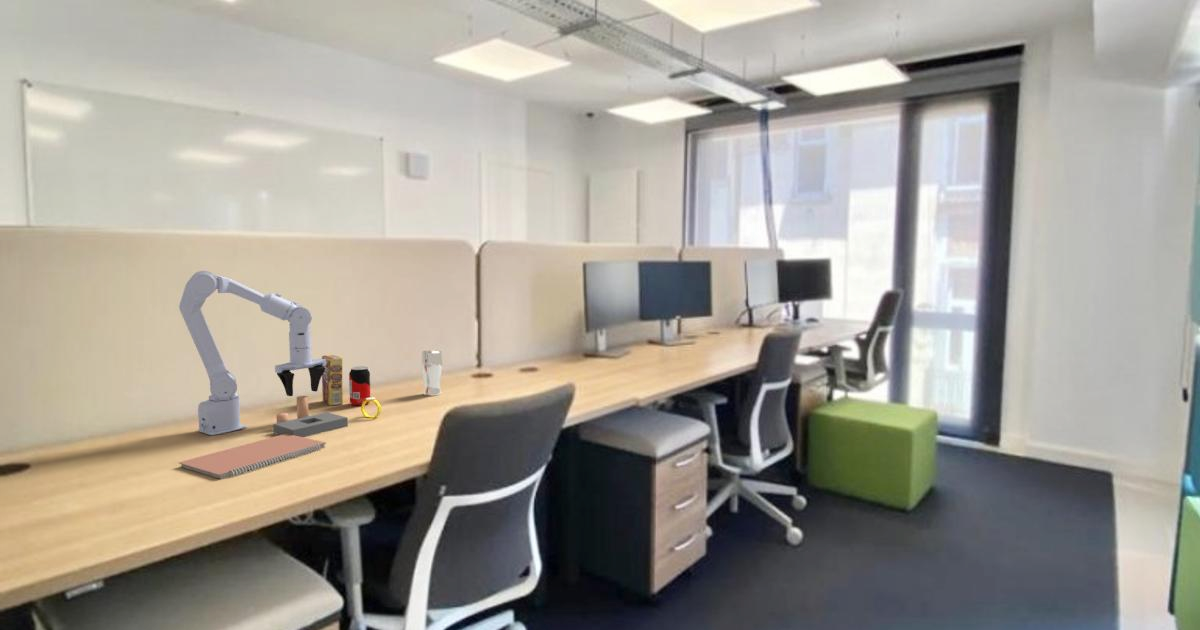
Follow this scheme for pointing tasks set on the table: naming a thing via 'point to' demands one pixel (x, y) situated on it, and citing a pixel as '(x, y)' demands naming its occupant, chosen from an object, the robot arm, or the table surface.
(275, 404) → the table surface
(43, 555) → the table surface
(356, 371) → the beverage can
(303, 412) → the long pin
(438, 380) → the beer glass
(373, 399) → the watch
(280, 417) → the short pin
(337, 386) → the candy box
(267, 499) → the table surface
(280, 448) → the notebook
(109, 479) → the table surface
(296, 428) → the hole board
